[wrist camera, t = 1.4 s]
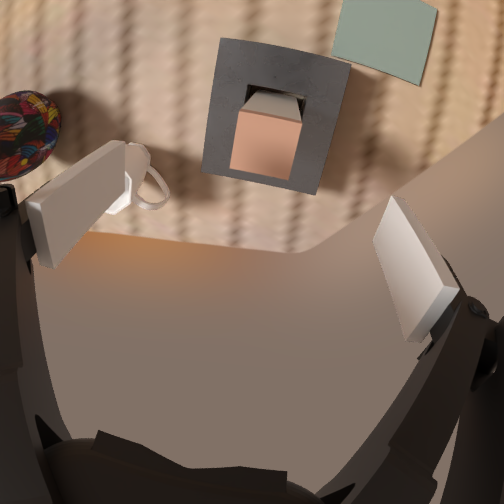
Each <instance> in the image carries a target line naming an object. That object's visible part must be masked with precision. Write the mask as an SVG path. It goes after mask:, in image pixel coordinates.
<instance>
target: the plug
mask: <svg viewBox="0 0 504 504" xmlns="http://www.w3.org/2000/svg"><path fill="white" fill-rule="evenodd" d="M301 127H302V121H301V116H300V112H299V107H298V103H297V99H296V97H294V96H289V95H284V94H280V93H275V92H270V91H265V90H259V89H258V90H257V91H256V92H255V94H254V95H253V96H252V97H251V98H250V99H249V100H248V101H247V103H246V104H245V105H244V106H243V107H242V108H241V109H240V111H239V114H238V120H237V126H236V132H235V138H234V144H233V150H232V156H231V162H230V168H231V169H236V170H241V171H246V172H251V173H256V174H261V175H266V176H271V177H276V178H280V179H285V180H289V176H290V172H291V168H292V164H293V160H294V156H295V152H296V148H297V144H298V139H299V135H300V131H301Z"/></svg>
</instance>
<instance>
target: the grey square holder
mask: <svg viewBox="0 0 504 504" xmlns="http://www.w3.org/2000/svg"><path fill="white" fill-rule="evenodd" d="M350 68H351V64H349V63H345V62H342V61H338V60H335V59H331V58H328V57H324V56H320V55H316V54H312V53H308V52H304V51H299V50H295V49H290V48H285V47H280V46H275V45H270V44H264V43H258V42H252V41H245V40H238V39H230V38H220V44H219V50H218V55H217V61H216V67H215V73H214V80H213V86H212V92H211V99H210V106H209V113H208V120H207V127H206V135H205V143H204V151H203V159H202V167H201V172H204V173H209V174H215V175H220V176H226V177H231V178H236V179H241V180H246V181H251V182H256V183H261V184H266V185H271V186H275V187H280V188H285V189H289V190H294V191H298V192H302V193H307V194H311V195H316V192H317V188H318V185H319V182H320V178H321V175H322V172H323V168H324V165H325V161H326V158H327V154H328V151H329V147H330V144H331V140H332V137H333V133H334V129H335V126H336V122H337V118H338V115H339V111H340V107H341V103H342V100H343V96H344V92H345V88H346V84H347V80H348V76H349V72H350ZM251 85H256V86H262V87H267V88H272V89H277V90H282V91H287V92H291V93H296V94H300V95H304V99H303V104H302V108H301V112H300V116H301V121H302V127H301V131H300V135H299V139H298V144H297V148H296V152H295V156H294V160H293V164H292V168H291V172H290V176H289V180H285V179H280V178H276V177H271V176H266V175H261V174H256V173H251V172H246V171H241V170H236V169H231V168H230V162H231V156H232V150H233V144H234V138H235V132H236V126H237V120H238V114H239V111H240V109H241V108H242V107H243V106H244V105H245V104H246V103H247V101H248V100H249V94H250V89H251Z"/></svg>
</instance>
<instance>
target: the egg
mask: <svg viewBox="0 0 504 504" xmlns="http://www.w3.org/2000/svg"><path fill="white" fill-rule="evenodd" d="M60 127H61V116H60V111H59V109H58V107H57V106H56V105H55V103H54V102H53V101H51V100H49V99H48V98H47V97H46V96H44V95H43V94H41V93H38V92H35V91H29V90H28V91H19V92H15V93H12V94H10V95H8V96H5V97H3V98H2V99H0V182H5V181H10V180H14V179H16V178H19V177H22V176H24V175H26V174H28V173H30V172H31V171H33V170H34V169H36V168H37V167H38V166H40V165H41V164H42V163H43V162H44V161H45V160H46V159H47V158H48V157H49V156H50V154H51V153H52V151H53V149H54V147H55V145H56V142H57V139H58V135H59V132H60V131H59V130H60Z"/></svg>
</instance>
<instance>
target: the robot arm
mask: <svg viewBox="0 0 504 504" xmlns="http://www.w3.org/2000/svg"><path fill="white" fill-rule="evenodd" d="M124 192H125V141H118V140H111V141H110V142H108V143H106V144H105V145H103V146H101V147H100V148H98V149H97V150H95V151H93V152H92V153H90V154H89V155H87V156H86V157H84V158H83V159H81V160H80V161H78V162H77V163H75V164H74V165H72V166H71V167H69V168H68V169H66V170H65V171H64V172H62V173H61V174H59V175H58V176H57V177H55V178H54V179H52V180H50V181H48V182H47V183H45V184H44V185H42V186H41V187H40V189H37V190H36V191H35V192H34V193H32V194H31V195H29V196H28V197H27V198H26V199H24V200H23V201H22V202H21V203H19V204H18V203H17V198H16V193H15V188H14V185H12V184H2V185H0V504H429V503H430V501H431V499H432V497H433V496H434V493H435V491H436V489H437V481H436V480H435V479H433V478H432V474H433V472H434V470H435V468H436V466H437V464H438V462H439V460H440V458H441V456H442V454H443V452H444V450H445V448H446V446H447V444H448V442H449V439H450V437H451V435H452V433H453V430H454V428H455V426H456V423H457V421H458V418H459V416H460V418H459V424H458V431H457V436H456V441H455V447H454V452H453V456H452V461H451V465H450V470H449V473H448V478H447V481H446V485H445V488H444V492H443V496H442V499H441V502H440V504H504V316H503V317H502V319H501V320H500V321H499V323H497V322H495V321H493V320H491V319H489V313H488V311H487V309H486V308H485V306H484V305H483V304H482V303H481V302H480V301H479V300H477V299H475V298H473V297H471V296H467V295H466V293H465V291H464V289H463V287H462V286H461V284H460V282H459V280H458V278H456V277H457V276H456V275H455V273H454V272H453V270H452V268H451V266H450V264H449V263H448V261H447V260H446V259H445V258H444V257H443V256H442V255H441V254H440V253H439V251H438V249H437V248H436V246H435V244H434V243H433V241H432V240H431V238H430V237H429V235H428V233H427V232H426V230H425V229H424V227H423V225H422V224H421V222H420V221H419V219H418V218H417V216H416V215H415V213H414V212H413V210H412V209H411V208H410V206H409V205H408V203H407V202H406V200H405V199H403V198H400V197H396V196H393V195H391V197H390V200H389V203H388V205H387V208H386V210H385V212H384V215H383V217H382V220H381V222H380V224H379V227H378V229H377V231H376V234H375V236H374V238H373V241H372V242H373V245H374V247H375V250H376V252H377V255H378V258H379V261H380V263H381V266H382V269H383V272H384V275H385V278H386V281H387V284H388V287H389V290H390V293H391V296H392V299H393V302H394V305H395V308H396V312H397V315H398V318H399V321H400V325H401V328H402V331H403V335H404V339H405V341H409V342H418V343H421V342H422V341H423V340H424V339H425V337H426V336H427V335H428V333H429V332H430V334H431V337H432V341H431V342H430V344H429V345H428V346H427V347H426V348H425V350H424V351H423V352H422V353H421V354H420V356H419V357H418V358H417V359H418V360H419V362H418V363H417V365H416V367H415V369H414V370H413V372H412V374H411V375H410V377H409V378H408V380H407V382H406V383H405V385H404V387H403V388H402V390H401V391H400V393H399V394H398V396H397V397H396V399H395V400H394V402H393V403H392V405H391V406H390V408H389V409H388V411H387V412H386V413H385V415H384V416H383V418H382V419H381V420H380V422H379V423H378V425H377V426H376V427H375V429H374V430H373V431H372V433H371V434H370V435H369V437H368V438H367V439H366V441H365V442H364V443H363V444H362V446H361V447H360V448H359V450H358V451H357V452H356V453H355V454H354V456H353V457H352V458H351V459H350V460H349V462H348V463H347V464H346V465H345V466H344V467H343V469H342V470H341V471H340V472H339V473H338V474H337V475H336V476H335V477H334V478H333V479H332V480H331V481H330V482H328V483H327V484H326V485H325V486H323V487H322V488H321V489H320V490H319V491H318V492H317V493H316V494H315V495H314V494H313V493H312V492H310V491H309V490H307V489H305V488H303V487H302V486H299V485H297V484H295V483H293V482H290V481H287V471H276V470H266V469H257V468H249V467H241V466H238V467H224V468H204V469H203V468H202V469H190V468H186V467H183V466H181V465H179V464H177V463H175V462H173V461H171V460H169V459H167V458H165V457H163V456H161V455H159V454H157V453H156V452H154V451H152V450H150V449H149V448H147V447H145V446H143V445H141V444H138V443H135V442H132V441H129V440H125V439H123V438H120V437H117V436H114V435H111V434H108V433H105V432H103V431H100V430H98V433H97V435H96V438H95V439H93V438H90V439H89V438H88V439H87V438H81V439H72V438H71V436H70V433H69V432H68V430H67V428H66V426H65V424H64V422H63V420H62V417H61V415H60V411H59V408H58V405H57V401H56V398H55V394H54V390H53V387H52V383H51V379H50V375H49V370H48V366H47V361H46V357H45V352H44V347H43V341H42V336H41V330H40V324H39V317H38V310H37V302H36V293H35V283H34V273H33V272H34V271H33V264H32V260H31V258H32V256H33V255H34V254H35V253H37V256H38V260H39V263H40V265H42V266H45V267H49V268H52V269H55V268H56V267H57V266H58V264H59V263H60V262H61V261H62V260H63V258H64V257H65V256H66V255H67V254H68V252H69V251H70V250H71V249H72V248H73V247H74V245H75V244H76V243H77V242H78V241H79V240H80V239H81V237H82V236H83V235H84V234H85V233H86V232H87V231H88V230H89V229H90V227H91V226H92V225H93V224H94V223H95V222H96V221H97V220H98V219H99V218H100V217H101V216H102V214H103V213H104V212H105V211H106V210H107V209H108V208H109V207H110V206H111V205H112V204H113V203H114V202H115V201H116V200H117V199H118V198H119V197H120V196H121V195H122V194H123V193H124ZM494 371H495V372H494ZM493 372H494V373H493Z"/></svg>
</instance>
